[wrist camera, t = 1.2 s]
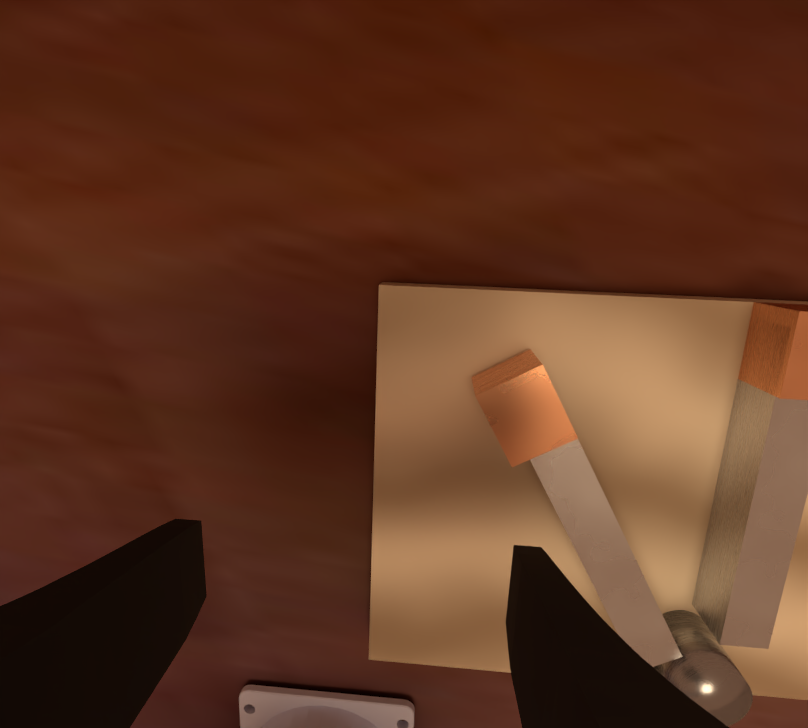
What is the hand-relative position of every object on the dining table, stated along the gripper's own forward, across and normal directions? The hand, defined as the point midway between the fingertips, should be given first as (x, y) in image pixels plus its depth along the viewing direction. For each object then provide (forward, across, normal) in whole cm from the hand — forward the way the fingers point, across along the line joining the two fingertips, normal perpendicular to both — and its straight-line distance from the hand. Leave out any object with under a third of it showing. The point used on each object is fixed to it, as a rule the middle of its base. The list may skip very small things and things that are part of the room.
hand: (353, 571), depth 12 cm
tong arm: (+7, -7, +2) cm, 10 cm away
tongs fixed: (+7, -12, +2) cm, 14 cm away
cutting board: (+9, -8, +2) cm, 12 cm away
